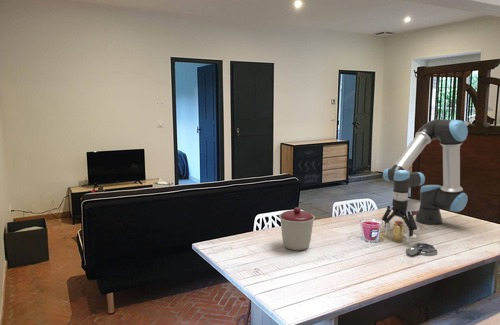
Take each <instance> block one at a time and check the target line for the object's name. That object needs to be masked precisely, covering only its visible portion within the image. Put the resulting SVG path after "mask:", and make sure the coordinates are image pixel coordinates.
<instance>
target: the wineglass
mask: <svg viewBox="0 0 500 325" xmlns="http://www.w3.org/2000/svg"><path fill="white" fill-rule="evenodd" d="M407 201H408V206H407V211H412V212H413V217H414V216H416V214H417V213H418V212H419V208H420V199H419V200H418V199H413V198H408V200H407ZM406 214H407V213H406ZM403 237H406V238H407V232H406V233H404V232H403ZM417 237H418V236H417V234H416V233H415V234H414V233H413V236H412V238H415V239H416V238H417Z"/></svg>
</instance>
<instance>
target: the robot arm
mask: <svg viewBox="0 0 500 325" xmlns="http://www.w3.org/2000/svg"><path fill="white" fill-rule="evenodd" d="M468 134H469V130H468V126H467V124H466V123H465V122H464V121H463V120H459V119H433V120H429V121H427V122H426V123H425V124H423V125H422V126H421V127H420V128H419V129H418V130H417V132H415V135H414V136H415V137H414V138H413V140H411V142H410V143H409V144H408V146H407V148H405V150H404V151H403V152H402V154H401V155H400V156H399V158H398V159H397V160H396V161H395V163H394V164H393V166H392V167H391V168H389V167H388V168H385V169H384V170H383V173H382V177H383V180H384V181H386V182H389V183H393V189H392V204H391V205H387V207H386V211H385V213H384V214H383V216H382V218H381V221H383V222H384V230H385V232H384V233H385V234H384V235H385V236H386V235H390V232H391V231H390V230H391V220H392V219H393V218H394V217H397V218H398V217H399V218H401V219H402V220H403V223H405V225H406V226H407V231H406V233H407V237H406V242H407V243H411V242H412V236H413V234H414V231H415V230H418V227H417V224H416V222H418V223H421V224H424V225H429V226H430V225H431V226H432V225H435V226H436V225H437V226H438V225H442V223H443V217H442V214H441V209H443V210H447V211H451V212H456V213H459V212H461V211H463V210H464V209H465V207H466V205H467V203H468V200H469V199H468V195H467V193H465V192H464V189H463V187H462V186H461V155H460V154H461V151H460V150H461V145H463V144H464V141H465V140H467V136H468ZM435 140H439V145H440V146H442V185H440V184H426V185H425V181H426V177H425V175H424V173H423V172H419V171H414V172H412V171H409V168H410V167H411V166H412V164H413V163H414V162H415V160H416V159H417V158H418V156H419V155H420V154H421V153H422V151H423V150H424V149H425V147H426V146H427V145H428V144H430V143H431V142H432V141H435ZM419 186H421V187H420V192H419V201H420V208H419V212H418V213H417V214H416V215H415V217H414V216H413V212H412V211H407V206H408V201H407V200H408V199H409V189H410V188H415V187H419ZM406 213H407V214H406Z"/></svg>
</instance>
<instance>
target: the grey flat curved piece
mask: <svg viewBox="0 0 500 325" xmlns="http://www.w3.org/2000/svg"><path fill="white" fill-rule="evenodd" d="M405 253H406V255H407V256H409V257H410V256H414V255H416V254H417V255H419V256H425V257H427V256H428V257H431V256H436V255H437V254H438V250H437V249H436V248H435V246H434V245H432V244H429V243H426V242H416V243H413V245H411V246H410V247H408V248H406V249H405Z"/></svg>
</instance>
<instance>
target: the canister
mask: <svg viewBox="0 0 500 325" xmlns="http://www.w3.org/2000/svg"><path fill="white" fill-rule="evenodd" d="M278 217H279V219H280V226H281V236H282V238H281V239H282V242H283V245H284V247H285V248H286V249H288V250H291V251H303V250H307V249H308V248H309V247H310V243H311V241H312V240H311V239H312V233H313V225H314V220H315V218H316V217H315V215H313V214H312V213H311V212H310V211H306V210H301V208H300V207H299V206H298V207H297V206H296V207H294V208H293V209H292V210H286V211H284V212H282V213H280V214H279V215H278Z"/></svg>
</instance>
